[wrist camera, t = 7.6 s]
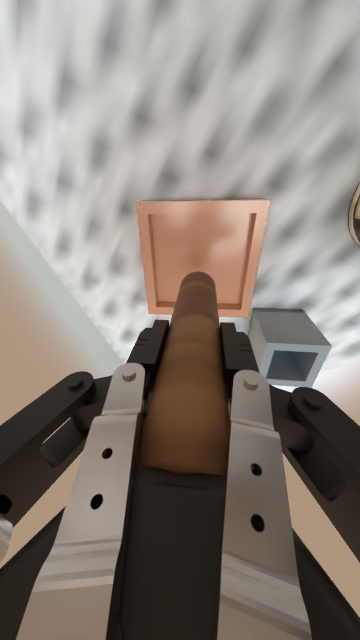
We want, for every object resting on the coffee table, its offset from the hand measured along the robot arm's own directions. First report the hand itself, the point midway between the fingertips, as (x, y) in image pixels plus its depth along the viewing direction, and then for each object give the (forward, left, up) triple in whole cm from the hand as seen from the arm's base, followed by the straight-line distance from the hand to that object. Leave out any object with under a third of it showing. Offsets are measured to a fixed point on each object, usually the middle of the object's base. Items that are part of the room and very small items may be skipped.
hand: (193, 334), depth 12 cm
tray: (0, 0, -14) cm, 14 cm away
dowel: (0, 0, -7) cm, 7 cm away
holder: (+9, +10, -14) cm, 19 cm away
